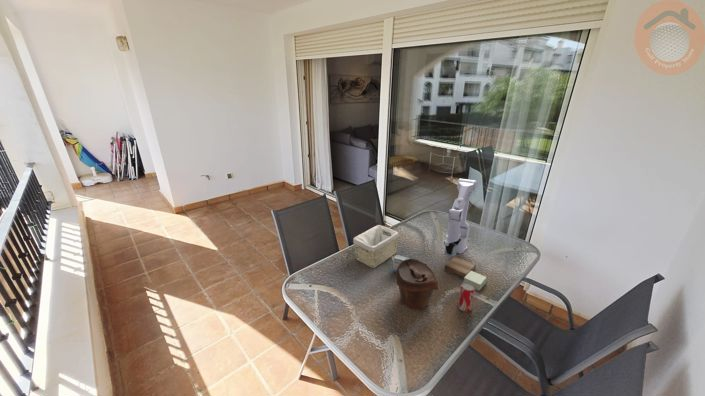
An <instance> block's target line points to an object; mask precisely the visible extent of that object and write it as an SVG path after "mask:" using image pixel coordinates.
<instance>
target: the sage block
mask: <svg viewBox="0 0 705 396" xmlns="http://www.w3.org/2000/svg"><path fill="white" fill-rule="evenodd" d="M486 282H487V276H485V275H482V274H480V273H478V272H476V271H474V270H473V271H470V272H469V273H468V274H467V275H466V276H465V277H463V283H470V284H472V285H473V286H474V289H475V291H480V290H482V288H483V287H484V286H485V285H486Z"/></svg>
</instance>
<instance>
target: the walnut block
mask: <svg viewBox="0 0 705 396" xmlns="http://www.w3.org/2000/svg"><path fill="white" fill-rule="evenodd" d="M476 266H477V264H476V263H474V262H471V261H468V260H466V259H464V258H461V257H458V256H456V255H455V256H453V257H451V259H450V260H449V261H448V262H446V263H445V264H444V270H445V271H449V272H451V273H454V274H455V275H456V276H457V275H458V276H460V277H462V278H464V277H465V276H466V275H467V274H468V273H469V272H470V271H473V272H474V270H475V269H476Z"/></svg>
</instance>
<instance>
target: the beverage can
mask: <svg viewBox="0 0 705 396" xmlns="http://www.w3.org/2000/svg"><path fill="white" fill-rule="evenodd" d="M475 295H476V289H474V286H473V285H472V284H470V283H464V282H463V283H462V284H461V285H460V287H459V293H458V299H457V300H458V301H457V307H458V309H459V310H460V311H463V312H466V313H470V312H472V310H473V307H474V300H475V297H476V296H475Z"/></svg>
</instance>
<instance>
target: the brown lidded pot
mask: <svg viewBox="0 0 705 396" xmlns="http://www.w3.org/2000/svg"><path fill="white" fill-rule="evenodd" d="M394 278H396V281H395V283H396V285H397V286H398V289H399V294H400V300H401V303H402V304H403V305H404V306H405V307H407V308H409V309H411V310H412V309H413V310H418V311H419V310H423V309H425V308H427V306H428V305H429V303H430V300H431V297H432V294H433V292H434V291H438V290H439V281H438V279H437V277H436V275H435V272H434V271H433V270H432V269H431V268H430V267H429V265H427V264H426V263H424V262H423V261H420V260H419V259H416V258H415V259H414V258H410V259H406V260H404V261H402V262H401V263H400V264H399V266H398V268H397V270H396V272H395V275H394Z"/></svg>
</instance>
